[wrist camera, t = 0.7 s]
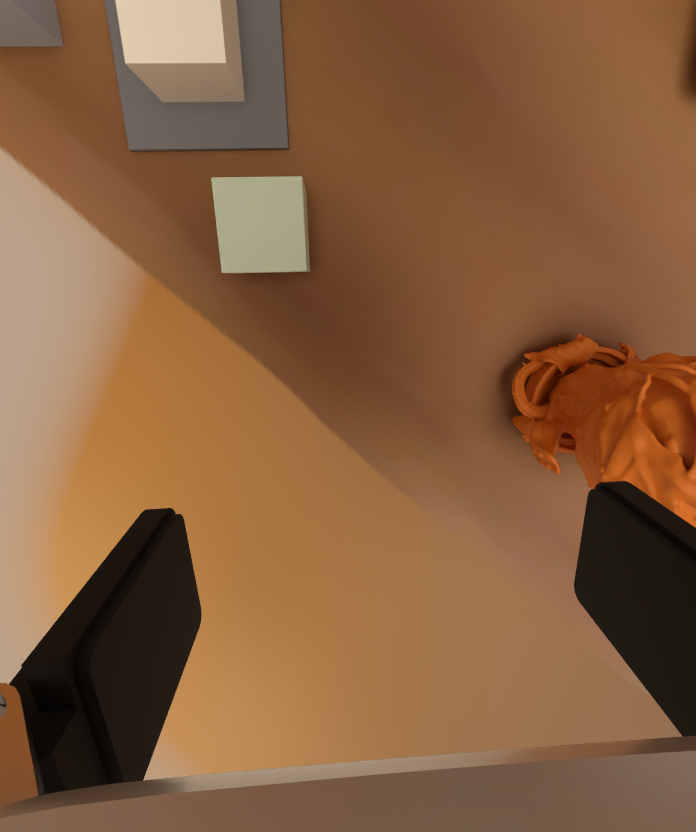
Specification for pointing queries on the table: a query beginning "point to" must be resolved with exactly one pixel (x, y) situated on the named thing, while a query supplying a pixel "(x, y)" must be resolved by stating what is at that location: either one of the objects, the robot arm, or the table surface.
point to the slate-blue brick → (29, 23)
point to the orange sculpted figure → (614, 417)
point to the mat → (213, 121)
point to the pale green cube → (262, 224)
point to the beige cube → (184, 48)
